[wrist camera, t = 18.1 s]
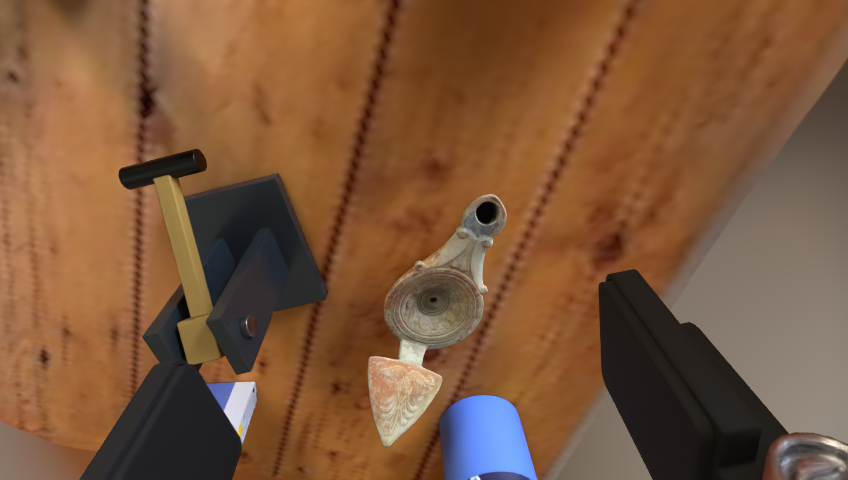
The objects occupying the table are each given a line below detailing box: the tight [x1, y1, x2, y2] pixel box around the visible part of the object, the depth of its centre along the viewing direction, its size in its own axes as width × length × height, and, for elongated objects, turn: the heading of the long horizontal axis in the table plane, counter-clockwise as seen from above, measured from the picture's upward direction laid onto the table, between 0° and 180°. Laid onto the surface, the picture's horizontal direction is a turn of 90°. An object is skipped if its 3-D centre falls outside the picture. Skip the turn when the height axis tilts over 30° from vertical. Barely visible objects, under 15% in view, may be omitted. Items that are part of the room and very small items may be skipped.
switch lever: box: [119, 149, 225, 365], centre depth 30 cm, size 13×5×2 cm, turn 12°
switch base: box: [143, 173, 328, 375], centre depth 34 cm, size 12×9×13 cm
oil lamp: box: [368, 194, 507, 447], centre depth 38 cm, size 9×21×10 cm, turn 154°
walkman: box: [206, 382, 257, 444], centre depth 42 cm, size 8×3×12 cm, turn 89°
